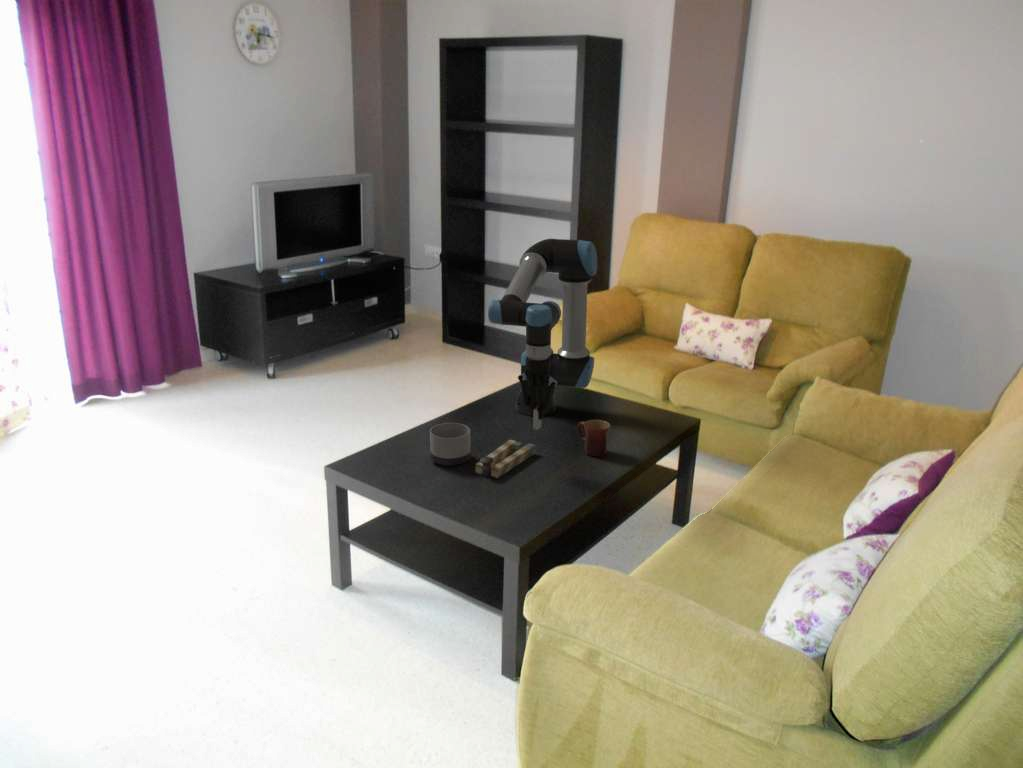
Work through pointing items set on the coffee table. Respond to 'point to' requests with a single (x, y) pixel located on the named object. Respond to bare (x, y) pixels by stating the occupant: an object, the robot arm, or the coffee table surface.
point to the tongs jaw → (512, 460)
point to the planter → (450, 443)
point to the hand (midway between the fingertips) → (537, 427)
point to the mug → (595, 436)
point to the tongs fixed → (496, 457)
